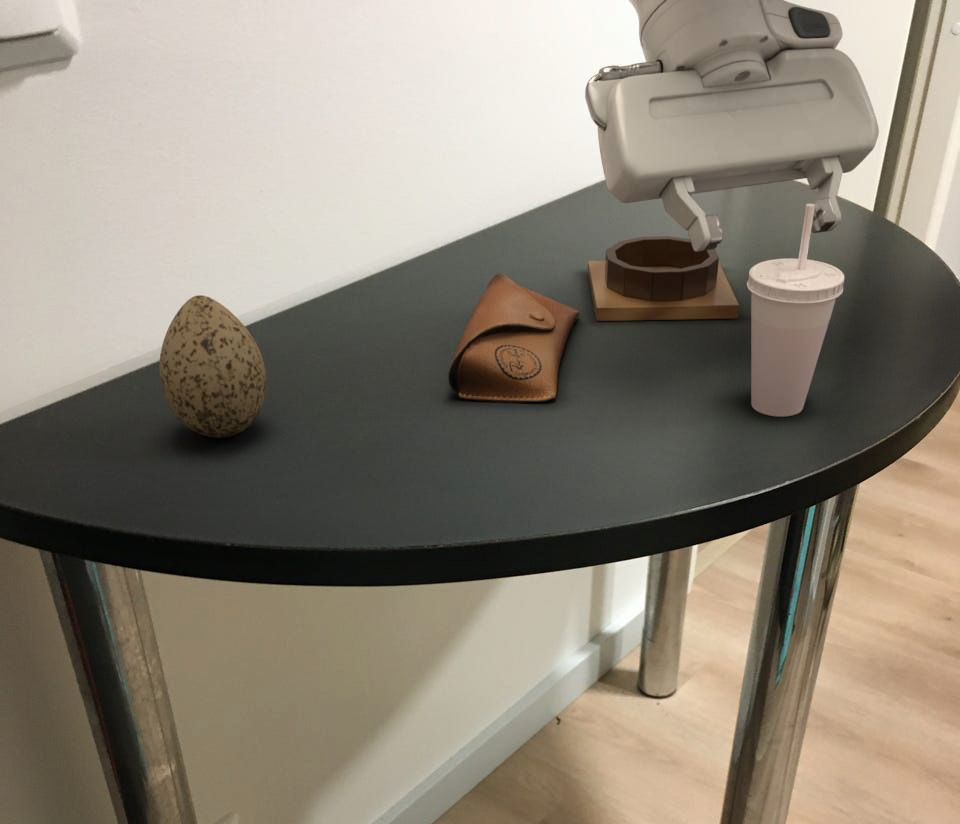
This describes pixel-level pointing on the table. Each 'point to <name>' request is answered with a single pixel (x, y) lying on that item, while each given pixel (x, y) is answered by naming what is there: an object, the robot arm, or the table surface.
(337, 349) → the table surface
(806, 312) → the smoothie
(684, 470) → the table surface
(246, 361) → the decorative egg
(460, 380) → the sunglasses case
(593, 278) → the dock pad
